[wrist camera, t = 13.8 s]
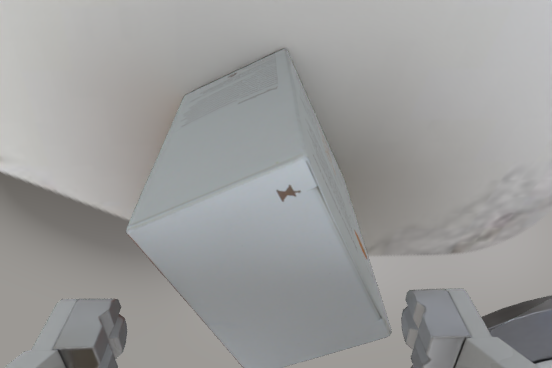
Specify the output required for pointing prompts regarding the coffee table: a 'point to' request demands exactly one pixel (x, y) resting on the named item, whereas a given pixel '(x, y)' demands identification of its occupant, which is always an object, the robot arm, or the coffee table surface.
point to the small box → (259, 222)
